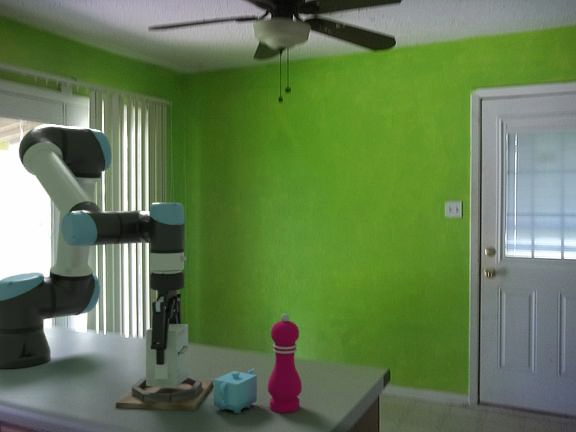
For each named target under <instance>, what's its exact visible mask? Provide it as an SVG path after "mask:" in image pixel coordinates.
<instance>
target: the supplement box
mask: <svg viewBox="0 0 576 432" xmlns="http://www.w3.org/2000/svg"><path fill="white" fill-rule="evenodd" d="M145 339H146V340H145V378H146V386H153V387H165V388H177V387H178V386H179V385H180V384H181V383H182V382H183V381H184V380H186V379H187V378H188V375H189V324H188V323H182V324H169V330H168V339H167V348H168V379H155V349H151V340H152V327H150V328H148V329H146V331H145ZM158 343H159V342H158Z"/></svg>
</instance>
